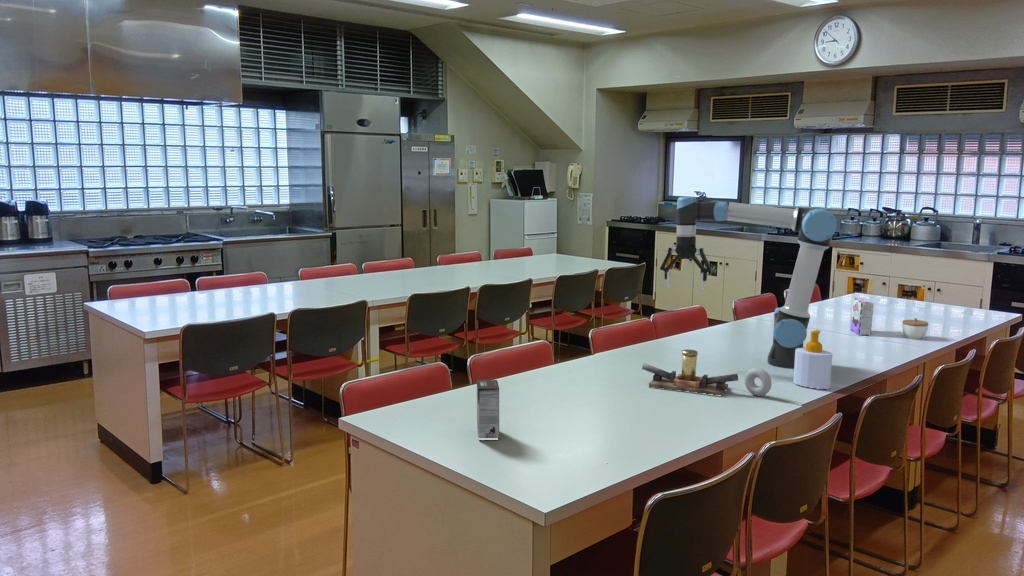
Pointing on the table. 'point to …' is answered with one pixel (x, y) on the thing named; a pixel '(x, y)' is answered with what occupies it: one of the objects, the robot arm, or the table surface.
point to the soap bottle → (813, 364)
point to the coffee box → (488, 408)
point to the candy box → (861, 316)
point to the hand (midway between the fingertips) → (685, 288)
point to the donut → (764, 379)
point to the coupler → (689, 365)
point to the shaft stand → (700, 386)
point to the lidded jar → (915, 328)
